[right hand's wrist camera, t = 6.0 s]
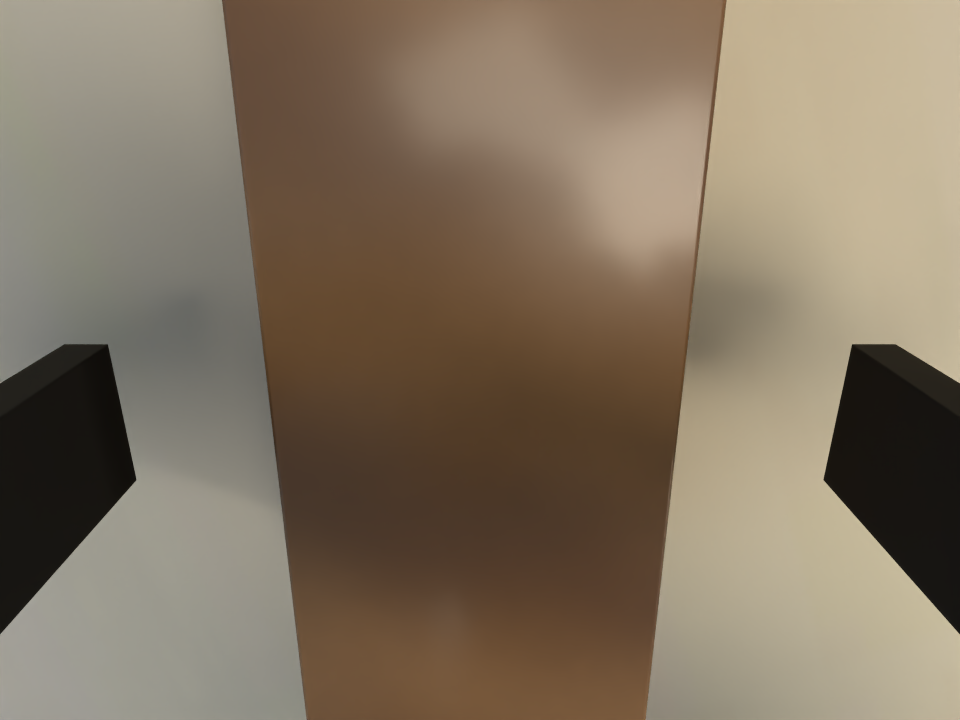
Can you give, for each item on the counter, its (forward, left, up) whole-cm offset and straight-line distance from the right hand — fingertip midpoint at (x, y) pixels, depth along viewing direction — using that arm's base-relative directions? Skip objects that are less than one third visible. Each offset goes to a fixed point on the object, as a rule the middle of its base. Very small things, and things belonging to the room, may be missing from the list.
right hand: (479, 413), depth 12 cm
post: (+15, -26, -5) cm, 30 cm away
